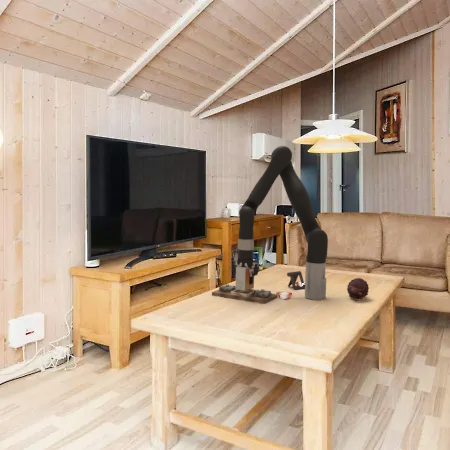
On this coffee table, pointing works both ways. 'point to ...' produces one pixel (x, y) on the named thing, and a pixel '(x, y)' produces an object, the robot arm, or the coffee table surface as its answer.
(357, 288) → the pine cone
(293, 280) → the portable electronic device stand
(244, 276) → the small box
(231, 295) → the gear board
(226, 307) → the coffee table surface
